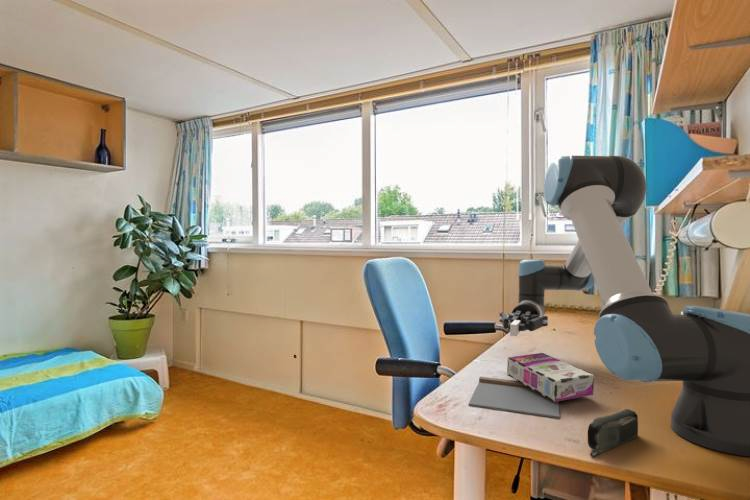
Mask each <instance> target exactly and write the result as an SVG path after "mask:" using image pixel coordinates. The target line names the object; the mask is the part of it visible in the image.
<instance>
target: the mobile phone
mask: <svg viewBox="0 0 750 500" xmlns="http://www.w3.org/2000/svg"><path fill="white" fill-rule="evenodd" d="M638 432H639V417H638V414H637V413H636V411H635V410H631V409H626V408H625V409H623V410H621V411H616V412H614V413H610V414H608V415H604V416H598V417H596V418H594V419H593V420H592V422H590V423H589V425H588V429H587V444H588V445H587V446H588V447H589V448H590V449H591V450H593V451H591V452H590V453H589V455H590V457H592V458H593V457H596V456H598V455H600V454H601V453H603V452H606V451H608V450H610V449H613V448H615V447H617V446H620V445H622V444H625V443H628V442H630V441H632V440H634V439H636V438H637V437H638V434H639V433H638Z"/></svg>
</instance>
